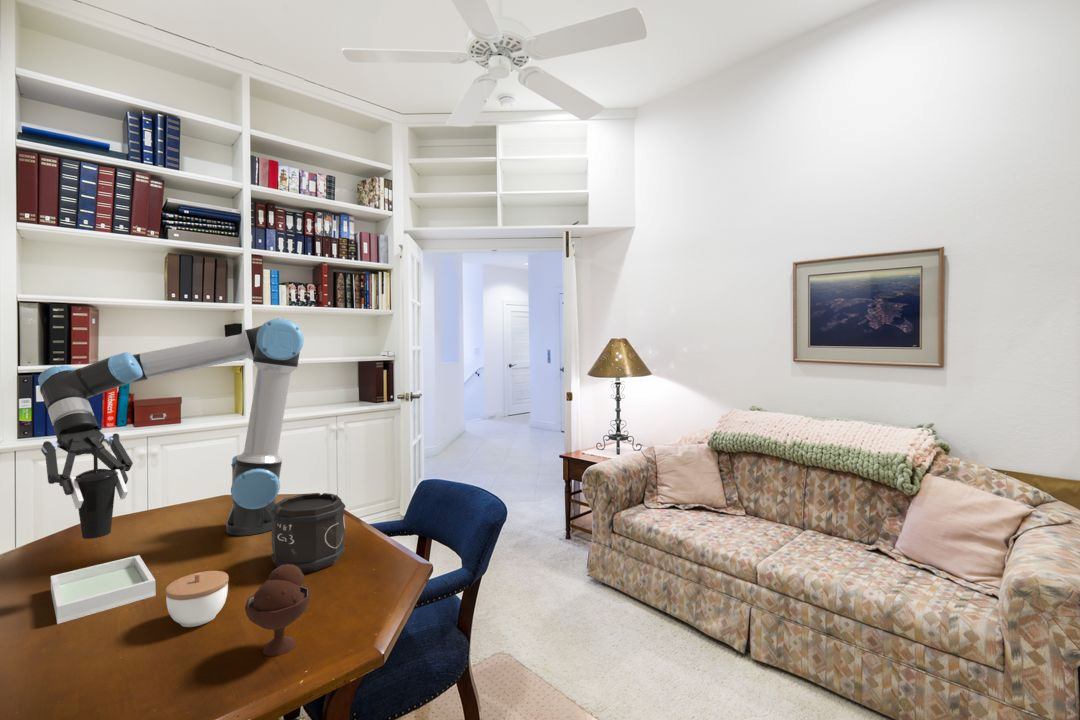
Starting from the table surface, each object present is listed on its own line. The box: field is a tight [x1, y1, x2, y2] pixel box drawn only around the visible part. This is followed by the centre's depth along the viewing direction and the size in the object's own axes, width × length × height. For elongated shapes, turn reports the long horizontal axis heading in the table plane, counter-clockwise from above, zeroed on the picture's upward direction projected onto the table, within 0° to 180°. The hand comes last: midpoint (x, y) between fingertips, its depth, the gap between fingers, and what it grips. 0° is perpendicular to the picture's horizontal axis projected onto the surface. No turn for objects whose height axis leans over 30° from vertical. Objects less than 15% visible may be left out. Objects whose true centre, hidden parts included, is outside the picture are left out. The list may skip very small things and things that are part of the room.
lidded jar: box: [165, 570, 229, 628], centre depth 103 cm, size 11×11×9 cm
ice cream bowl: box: [244, 564, 311, 657], centre depth 93 cm, size 11×11×15 cm
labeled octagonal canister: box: [270, 492, 347, 574], centre depth 132 cm, size 18×18×16 cm
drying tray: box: [50, 554, 157, 625], centre depth 114 cm, size 20×16×4 cm
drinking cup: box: [75, 447, 118, 540], centre depth 113 cm, size 8×8×20 cm
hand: (102, 499), depth 111 cm, fingers closed on drinking cup, 7 cm apart
